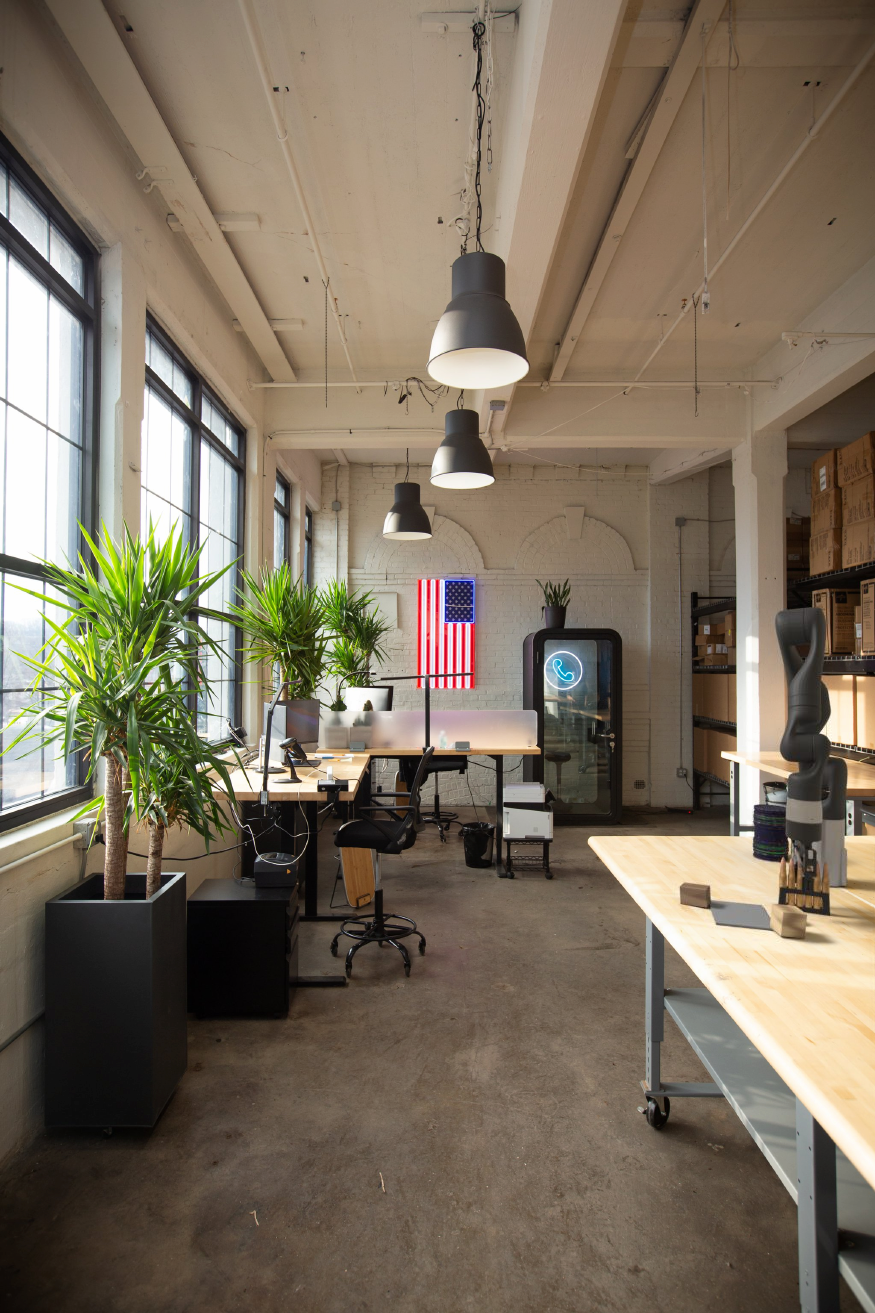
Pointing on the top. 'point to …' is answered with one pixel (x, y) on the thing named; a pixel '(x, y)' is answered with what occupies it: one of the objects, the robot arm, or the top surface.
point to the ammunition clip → (802, 900)
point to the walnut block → (695, 894)
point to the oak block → (788, 921)
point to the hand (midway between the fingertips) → (802, 888)
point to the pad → (740, 915)
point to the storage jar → (770, 833)
